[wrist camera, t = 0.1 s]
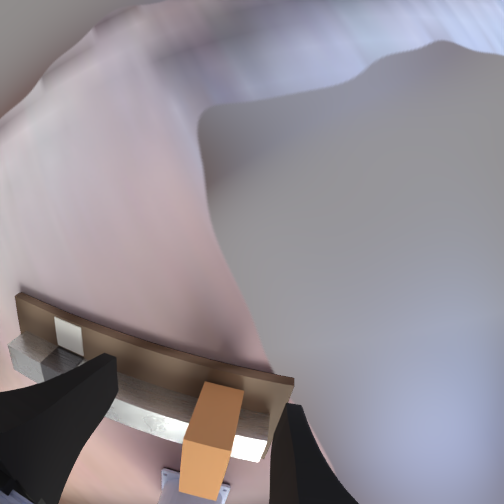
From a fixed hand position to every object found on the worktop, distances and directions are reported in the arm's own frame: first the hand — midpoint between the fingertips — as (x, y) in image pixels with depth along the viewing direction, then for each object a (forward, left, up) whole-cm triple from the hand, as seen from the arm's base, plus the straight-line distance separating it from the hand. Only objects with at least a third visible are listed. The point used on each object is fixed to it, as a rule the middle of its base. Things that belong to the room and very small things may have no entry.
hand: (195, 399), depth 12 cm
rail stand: (-10, +7, -10) cm, 16 cm away
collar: (-11, -1, -9) cm, 14 cm away
